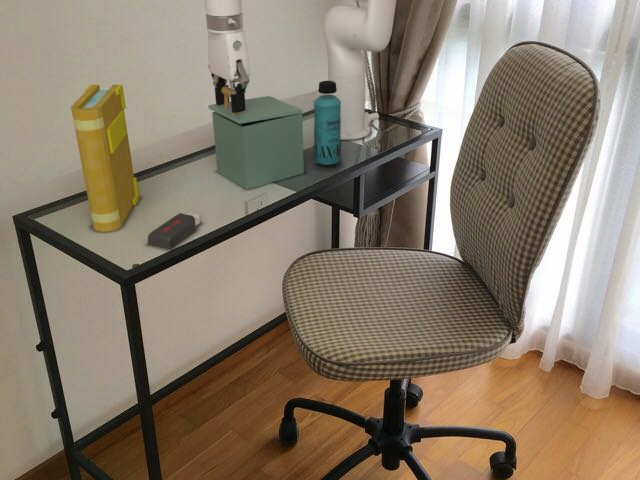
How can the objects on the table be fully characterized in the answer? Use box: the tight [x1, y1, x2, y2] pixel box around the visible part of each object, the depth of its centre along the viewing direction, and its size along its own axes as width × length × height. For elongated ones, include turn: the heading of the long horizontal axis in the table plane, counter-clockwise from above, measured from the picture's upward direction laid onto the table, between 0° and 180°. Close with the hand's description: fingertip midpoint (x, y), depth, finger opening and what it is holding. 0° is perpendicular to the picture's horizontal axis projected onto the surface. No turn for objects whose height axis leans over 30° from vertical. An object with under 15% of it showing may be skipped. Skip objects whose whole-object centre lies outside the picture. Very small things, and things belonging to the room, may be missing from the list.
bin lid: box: [208, 86, 303, 124], centre depth 175 cm, size 16×14×6 cm
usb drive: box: [147, 212, 201, 250], centre depth 157 cm, size 5×12×3 cm, turn 154°
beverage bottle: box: [313, 80, 342, 166], centre depth 182 cm, size 6×7×20 cm
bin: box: [211, 111, 305, 190], centre depth 181 cm, size 16×14×14 cm
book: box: [70, 84, 140, 233], centre depth 160 cm, size 17×7×25 cm, turn 178°
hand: (230, 107), depth 173 cm, fingers closed on bin lid, 6 cm apart
